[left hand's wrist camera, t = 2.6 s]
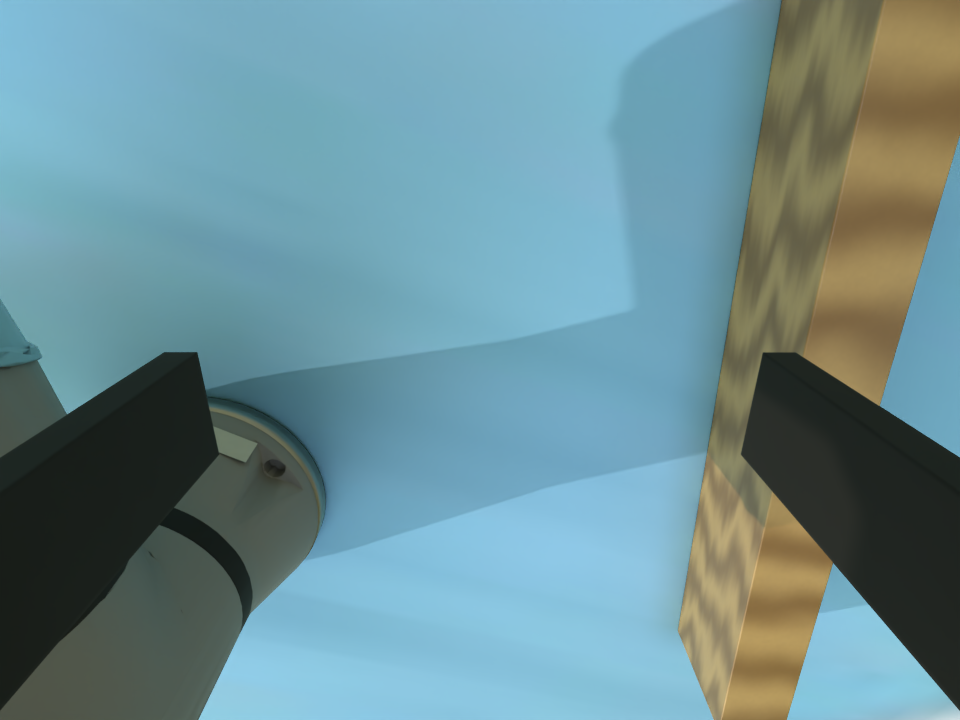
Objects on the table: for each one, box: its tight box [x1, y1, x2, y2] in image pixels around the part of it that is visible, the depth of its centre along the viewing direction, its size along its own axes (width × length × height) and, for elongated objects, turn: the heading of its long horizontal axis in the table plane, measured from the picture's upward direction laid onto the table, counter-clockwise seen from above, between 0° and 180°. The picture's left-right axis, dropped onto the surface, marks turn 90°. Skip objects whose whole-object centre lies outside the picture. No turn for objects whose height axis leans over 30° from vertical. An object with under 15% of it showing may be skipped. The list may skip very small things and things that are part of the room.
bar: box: [678, 0, 960, 720], centre depth 27 cm, size 64×4×8 cm, turn 1°
